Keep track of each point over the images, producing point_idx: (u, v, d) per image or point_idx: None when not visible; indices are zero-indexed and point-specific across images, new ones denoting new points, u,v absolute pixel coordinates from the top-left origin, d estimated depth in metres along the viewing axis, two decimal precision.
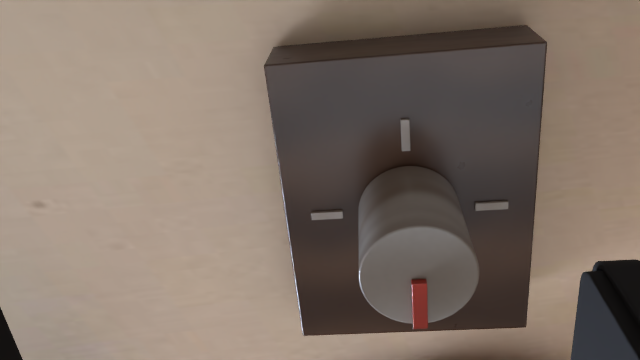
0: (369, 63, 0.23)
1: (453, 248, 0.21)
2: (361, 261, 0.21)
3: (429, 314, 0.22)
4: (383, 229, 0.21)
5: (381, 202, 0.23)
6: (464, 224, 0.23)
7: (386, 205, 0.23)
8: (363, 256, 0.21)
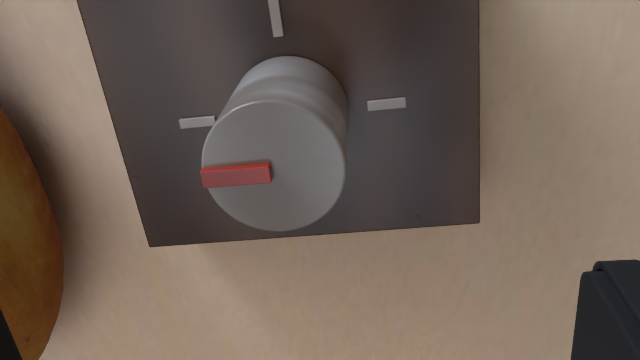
0: (472, 60, 0.21)
1: (318, 203, 0.18)
2: (289, 102, 0.17)
3: None
4: (330, 122, 0.17)
5: (333, 100, 0.19)
6: None
7: (336, 110, 0.19)
8: (296, 104, 0.17)
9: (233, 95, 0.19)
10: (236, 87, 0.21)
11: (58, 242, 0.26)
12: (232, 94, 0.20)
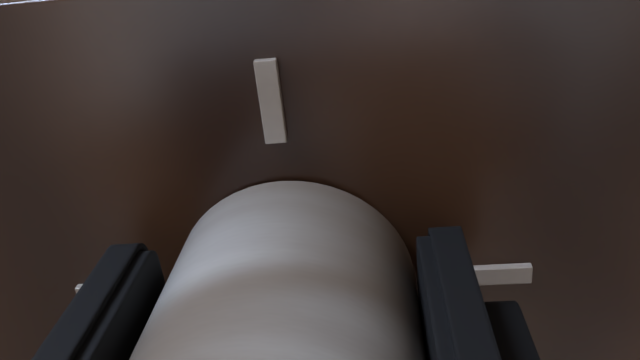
0: None
1: None
2: None
3: None
4: None
5: (403, 317, 0.08)
6: None
7: (413, 350, 0.08)
8: None
9: (165, 306, 0.08)
10: (184, 246, 0.10)
11: None
12: (169, 284, 0.09)
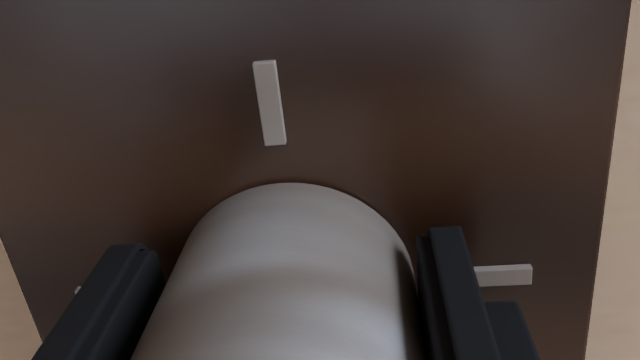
0: None
1: None
2: None
3: None
4: None
5: (402, 319, 0.08)
6: None
7: (413, 352, 0.08)
8: None
9: (165, 308, 0.08)
10: (184, 248, 0.10)
11: None
12: (168, 286, 0.09)
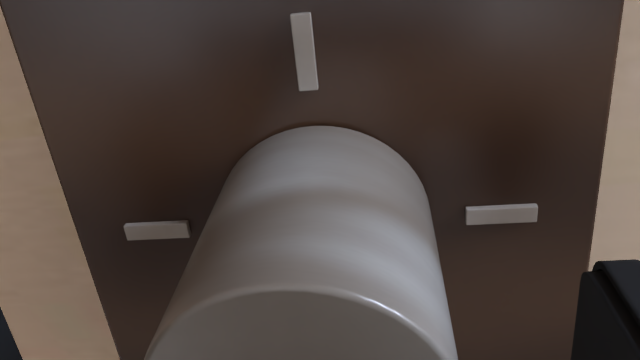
0: None
1: None
2: (349, 290, 0.07)
3: None
4: (437, 325, 0.08)
5: (424, 238, 0.09)
6: None
7: (433, 264, 0.09)
8: (366, 295, 0.07)
9: (219, 221, 0.09)
10: (227, 181, 0.11)
11: None
12: (218, 208, 0.10)
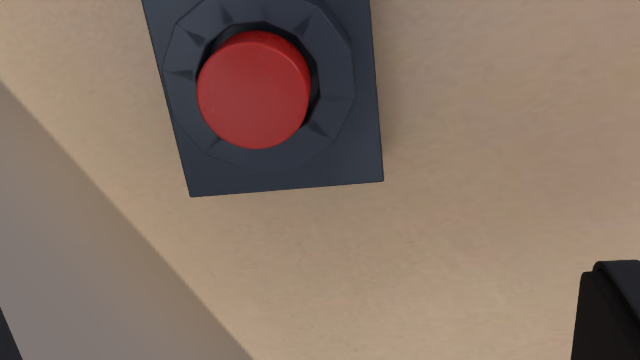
0: None
1: None
2: None
3: None
4: None
5: None
6: None
7: None
8: None
9: None
10: None
11: None
12: None
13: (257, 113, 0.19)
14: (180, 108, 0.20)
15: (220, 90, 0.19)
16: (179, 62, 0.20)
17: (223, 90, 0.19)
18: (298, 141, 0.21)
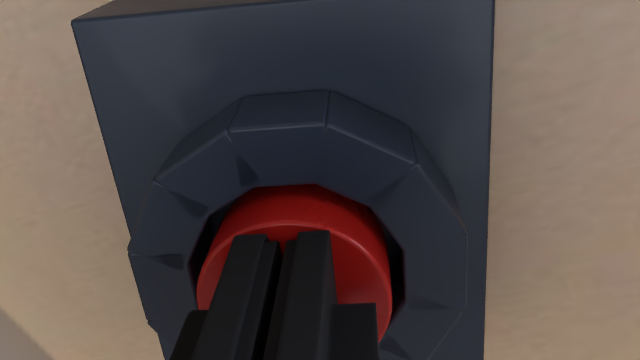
0: None
1: None
2: None
3: None
4: None
5: None
6: None
7: None
8: None
9: None
10: None
11: None
12: None
13: None
14: (160, 310, 0.12)
15: None
16: (159, 241, 0.11)
17: None
18: None
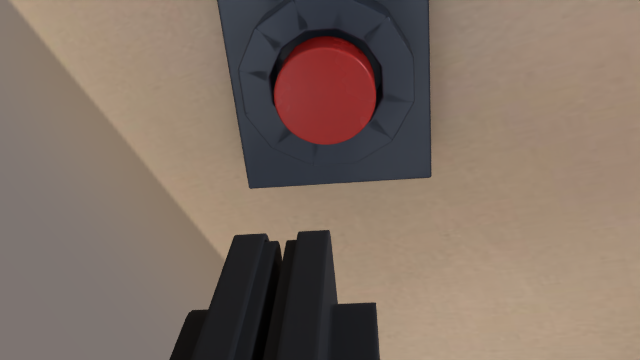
0: None
1: None
2: None
3: None
4: None
5: None
6: None
7: None
8: None
9: None
10: None
11: None
12: None
13: (328, 111, 0.21)
14: (253, 105, 0.22)
15: (296, 90, 0.21)
16: (255, 63, 0.22)
17: (299, 90, 0.21)
18: (359, 138, 0.23)
